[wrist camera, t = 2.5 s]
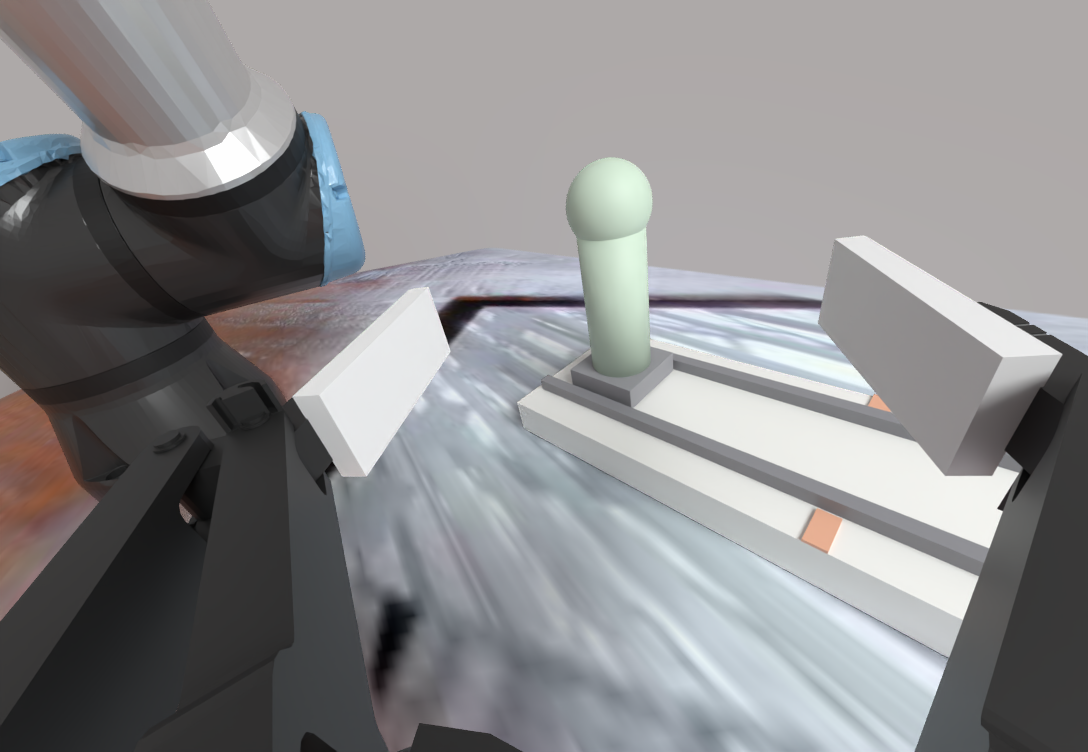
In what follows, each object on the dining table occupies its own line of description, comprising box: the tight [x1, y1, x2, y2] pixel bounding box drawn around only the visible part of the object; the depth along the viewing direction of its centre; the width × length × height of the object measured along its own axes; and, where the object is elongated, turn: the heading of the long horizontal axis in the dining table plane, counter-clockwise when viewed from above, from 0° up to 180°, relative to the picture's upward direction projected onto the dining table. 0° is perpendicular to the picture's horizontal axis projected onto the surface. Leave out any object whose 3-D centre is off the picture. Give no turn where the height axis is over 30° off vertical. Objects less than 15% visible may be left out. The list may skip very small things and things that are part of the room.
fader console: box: [517, 339, 1023, 658], centre depth 25 cm, size 26×12×3 cm, turn 46°
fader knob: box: [566, 158, 673, 408], centre depth 26 cm, size 5×5×14 cm
